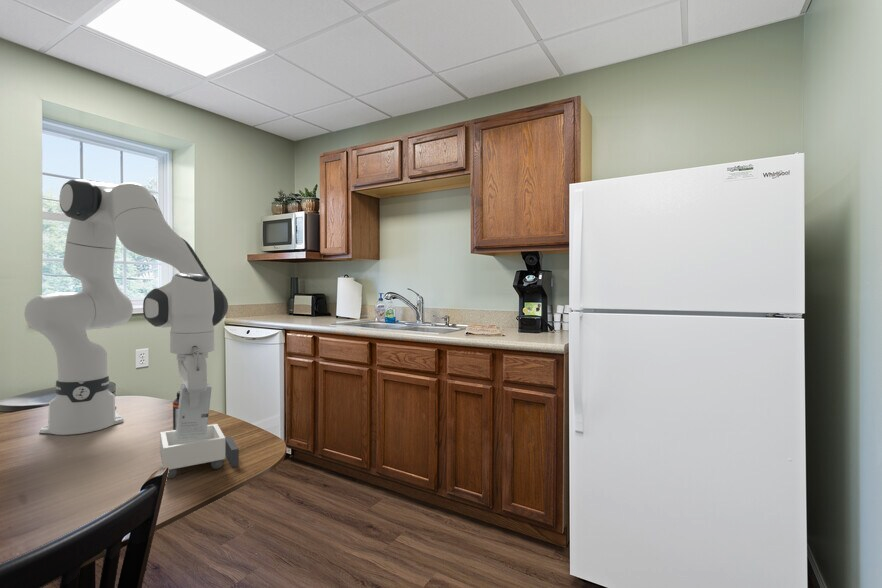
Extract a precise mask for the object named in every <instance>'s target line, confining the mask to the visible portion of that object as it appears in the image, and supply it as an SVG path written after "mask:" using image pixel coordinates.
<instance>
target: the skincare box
mask: <svg viewBox="0 0 882 588" xmlns="http://www.w3.org/2000/svg"><path fill="white" fill-rule="evenodd" d="M212 388H213V387H212V386H211V385H210V383H207V389H206V391H203V392H200V396H199V406H198V407H194V408H191V407H190V406H189V392H188V391H187V389H186V387H185V385H184V383H183V384H180V390H179V391H180V397H179V407H178V417H177V426H176V435H175V436H176V440H177V442H179V441H189V440H201V439H206V435H207V426H208V425H209V424H208V423H209V413H210V404H211V399H212V398H211V395H212V390H213V389H212Z"/></svg>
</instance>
